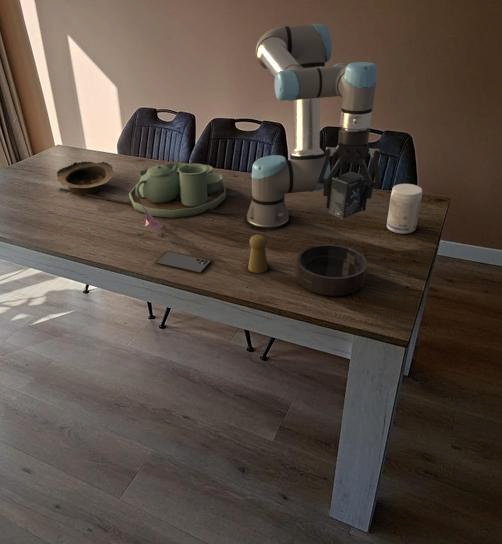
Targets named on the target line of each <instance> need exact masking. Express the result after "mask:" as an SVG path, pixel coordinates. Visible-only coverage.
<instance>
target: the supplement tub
mask: <svg viewBox="0 0 502 544" xmlns="http://www.w3.org/2000/svg"><path fill="white" fill-rule="evenodd" d="M422 198H423V188H422V187H421V186H419V185H416V184H412V183H399V184H395V185H394V186H393V187H392V190H391V194H390V201H389V206H388V214H387V220H386V221H387V222H386V228H387V229H388V230H389V231H390V232H393V233H395V234H402V235H403V234H405V235H406V234H411V233H413V232H414V231H416V229H417V225H418V219H419V215H420V209H421V203H422Z"/></svg>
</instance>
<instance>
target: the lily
mask: <svg viewBox="0 0 502 544" xmlns="http://www.w3.org/2000/svg"><path fill="white" fill-rule="evenodd" d="M142 207H143V206H142ZM143 209H144V211H145V213H142V214H141V216H142V218H144V219H145V225H144V227H142V230H141V232H140V234H142V233H143V231H144V229H145V228H146V227H151V228H152V230H153V231H156V232H157V233H158V234H159V235H160V236H162V234H161V231H160V230H159V229H163V226H162V225H161V224H160V222H159V221H158V220H157V219H155V218H154V216H152V215H151V214H149V213H148V211H147V210H146V209H145V208H144V207H143Z"/></svg>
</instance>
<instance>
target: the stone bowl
mask: <svg viewBox="0 0 502 544" xmlns="http://www.w3.org/2000/svg"><path fill="white" fill-rule="evenodd" d="M114 174H115V172H114V169H113V166H112V165H111V164H110V163H108V162H105V161H101V162H93V161H80V162H73V163H72V164H70V165H67V166H64V167H62V168H60V169H59V170H57V172H56V177H57V178H56V180H57V181H58V182H59V183H60V184H61V185H62V186H64V187H67V189H68V190H70V191H71V192H70V193H72V194H76V195H79V196H85V195H84V194H86V193H88V194H92V195H94V194H95V193H96V192H98V191H100V190H102V189H103V188H104V187H105V186H106V184H107V183H108V182H109V181H110V180H111V179H113V177H114ZM73 192H74V193H73Z"/></svg>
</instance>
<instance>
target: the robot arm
mask: <svg viewBox="0 0 502 544" xmlns="http://www.w3.org/2000/svg"><path fill="white" fill-rule="evenodd" d="M332 49H333V45H332V38H331V34H330V31H329V29H328V28H327V26H326V25H324V24H323V23H322V24H321V23H308V24H306V23H305V24H297V25H286V26H285V25H284V26H283V25H282V26H276V27H274V28H272V29H270V30H268V31H266V32H265V33H264V34H263V35H262V36H261V37H260V38H259V40H258V41H257V43H256V46H255V58H256V60H257V62H258V64H259V65H260V66H261V67H262V68H264V69H266V70H268V72H270V74H271V75H272V77H273V78H274V93H275V97H276V99H277V100H278V101H283V102H284V101H288V102H293V128H294V129H293V132H294V133H293V135H294V136H293V137H294V138H293V139H294V140H293V142H294V143H293V144H294V147H293V150H292V151H291V152H290V154H289V159H287V158H286V157H285V156H283V155H281V154H280V155H279V154H277V155H276V154H271V155H266V156H263V157H260V158H257V160H255V161H254V162H253V164H252V168H251V202H250V204H249V208H248V211H247V212H239V211H238V212H237V211H235V212H228V211H227V212H226V211H220V210H215V209H211V210H207V211H205V212H204V213H206V212H207V213H213V214H219V215H229V216H232V215H233V216H235V215H237V216H239V215H241V216H243V215H244V216H246V222H247V223H248V225H250V226H251V227H253V228H257V229H261V230H275V229H279V228H282V227H285V226H286V225H287V224H288V223H289V217H290V216H289V211H288V208H287V205H286V202H285V194H295V193H297V194H298V193H306V192H307V193H308V192H310V193H313V192H316V191H317V192H318V191H321V190H323V195H322V196H323V197H326V207H325V208H326V209H329V204H330V195H331V186H332V178H334V177H336V175H337V173H338V171H339V170H340V168H341V167H342V166H343V164H354V165H357V164H358V166H359V168H360V171H361V173H362V175H363V176H364V178H365V180H366V185H365V192H364V199H363V206H362V211H363V212H365V211H366V208H367V200H371V199H372V197H373V190H374V188H375V187H378V188H379V187H380V186H381V175H380V166H379V165H380V163H379V156H380V148H379V147H376V148H371V147H370V146H369V140H370V132H371V130H370V127H371V122H372V115H373V107H374V101H375V94H376V86H377V82H378V77H377V76H378V66H377V65H376V64H375V63H374V62H369V61H355V62H351V63H342V62H341V63H336V64H334V65H332V66H326V63H328V62H329V61H330V60H331V58H332V51H333V50H332ZM333 97H335V98H336V97H341V98H342V99H341V111H340V121H339V127H340V128H339V131H338V140H337V145H336V146H334V147H330V146H326V148H325V150H323V149H322V148H321V140H320V139H321V99H324V98H333ZM335 153H336V154H337V156H338V159H337V160H336V163H335V164H334V165H333V167H332V169H331V164H330V163H331V161H330V160H331V157H333V156H334V154H335ZM368 154H369V155H370V158H372V165H373V174H374V180H373V179H372V177H371V174H370V172H369V169H368V167H367V165H366V162H365V159H364V158H366V156H367V155H368ZM59 190H60V191H64V192H70V193H72V192H71V191H70V190H69V188H62V187H60V188H59ZM83 196H89V197H92V198H97V199H101V200H106V201H110V202H114V203H119V204H124V205H129V206H133V204H132V202H128V201H123V200H117V199H113V198H108V197H104V196H100V195H96V194H88V193H86V194H84V195H83ZM362 211H361V212H362Z"/></svg>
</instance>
